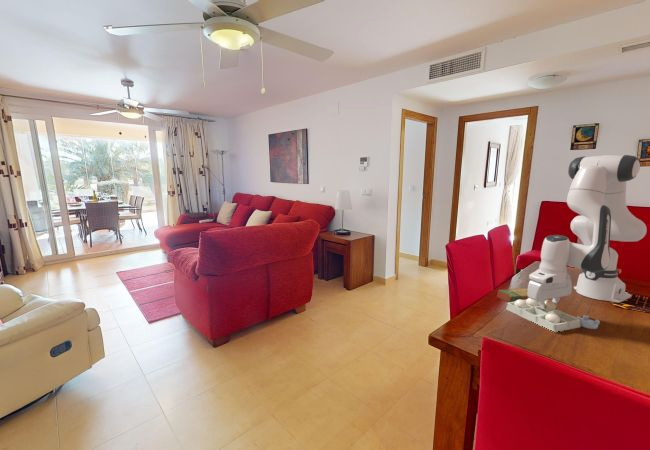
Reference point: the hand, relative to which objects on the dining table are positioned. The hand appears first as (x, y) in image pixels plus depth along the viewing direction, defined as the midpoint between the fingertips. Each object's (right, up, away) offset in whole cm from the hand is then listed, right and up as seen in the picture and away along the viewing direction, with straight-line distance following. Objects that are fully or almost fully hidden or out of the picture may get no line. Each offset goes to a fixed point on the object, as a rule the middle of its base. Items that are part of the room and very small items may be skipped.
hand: (548, 307), depth 119 cm
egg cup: (+10, -5, -7) cm, 13 cm away
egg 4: (-4, -5, -8) cm, 10 cm away
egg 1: (-8, -3, +5) cm, 10 cm away
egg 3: (0, -2, 0) cm, 2 cm away
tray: (-3, -4, 0) cm, 5 cm away
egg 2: (-2, -2, +7) cm, 7 cm away
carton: (0, -2, +18) cm, 18 cm away
